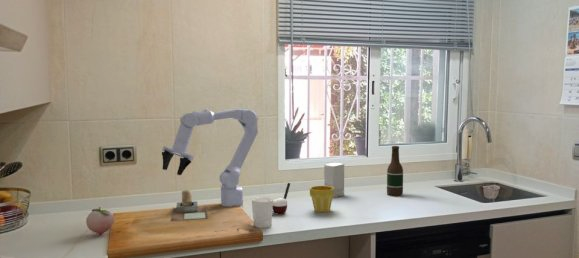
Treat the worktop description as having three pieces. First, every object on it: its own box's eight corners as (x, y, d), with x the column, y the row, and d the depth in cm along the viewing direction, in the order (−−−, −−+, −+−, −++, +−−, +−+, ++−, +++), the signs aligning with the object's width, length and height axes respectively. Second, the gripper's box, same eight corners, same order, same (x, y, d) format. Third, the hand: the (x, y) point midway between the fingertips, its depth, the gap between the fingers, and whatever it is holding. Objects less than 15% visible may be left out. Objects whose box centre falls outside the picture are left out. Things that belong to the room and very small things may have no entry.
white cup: (257, 229, 165) (256, 202, 164) (248, 224, 172) (248, 198, 171) (276, 226, 168) (276, 200, 168) (267, 221, 175) (267, 196, 175)
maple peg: (192, 208, 190) (191, 190, 189) (192, 211, 186) (191, 191, 185) (182, 209, 189) (181, 190, 188) (182, 211, 185) (181, 192, 184)
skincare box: (335, 193, 225) (335, 162, 224) (345, 195, 220) (345, 163, 219) (323, 195, 219) (323, 164, 218) (333, 197, 215) (333, 165, 213)
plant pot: (304, 210, 191) (304, 188, 191) (320, 206, 199) (320, 184, 198) (323, 215, 184) (323, 191, 184) (339, 210, 192) (339, 187, 191)
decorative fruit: (80, 236, 158) (79, 208, 157) (98, 230, 165) (97, 203, 164) (101, 239, 154) (100, 211, 154) (118, 232, 162) (117, 205, 161)
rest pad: (204, 213, 183) (204, 212, 183) (205, 218, 175) (205, 217, 175) (184, 214, 181) (184, 213, 181) (184, 219, 173) (184, 218, 173)
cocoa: (271, 216, 184) (269, 188, 183) (268, 212, 190) (267, 184, 189) (293, 214, 186) (292, 185, 184) (290, 209, 192) (289, 182, 191)
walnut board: (206, 209, 195) (206, 205, 194) (208, 222, 174) (208, 218, 174) (172, 211, 192) (172, 207, 192) (170, 225, 171) (170, 221, 171)
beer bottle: (404, 196, 216) (405, 147, 214) (388, 196, 216) (389, 147, 215) (401, 193, 224) (401, 145, 222) (385, 193, 224) (385, 145, 222)
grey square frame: (197, 207, 192) (197, 201, 192) (197, 212, 184) (197, 206, 184) (177, 208, 191) (176, 202, 190) (176, 213, 182) (176, 207, 182)
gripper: (162, 134, 186) (152, 166, 185) (190, 144, 181) (180, 176, 180) (172, 137, 193) (162, 167, 192) (200, 146, 187) (189, 177, 186)
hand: (171, 172), depth 186 cm, fingers open, 7 cm apart
